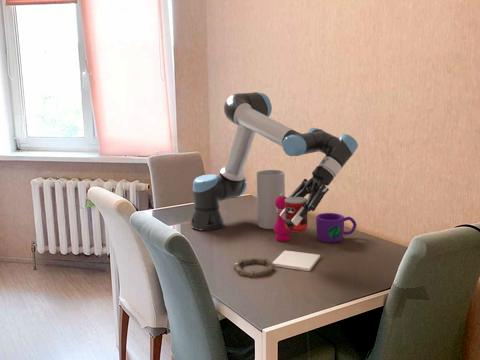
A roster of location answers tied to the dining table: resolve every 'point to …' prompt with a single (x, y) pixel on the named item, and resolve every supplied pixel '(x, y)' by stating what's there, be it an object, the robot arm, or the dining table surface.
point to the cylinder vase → (269, 196)
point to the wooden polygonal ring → (253, 273)
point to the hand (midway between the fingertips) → (287, 220)
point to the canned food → (294, 213)
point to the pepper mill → (281, 221)
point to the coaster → (296, 260)
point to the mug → (332, 227)
